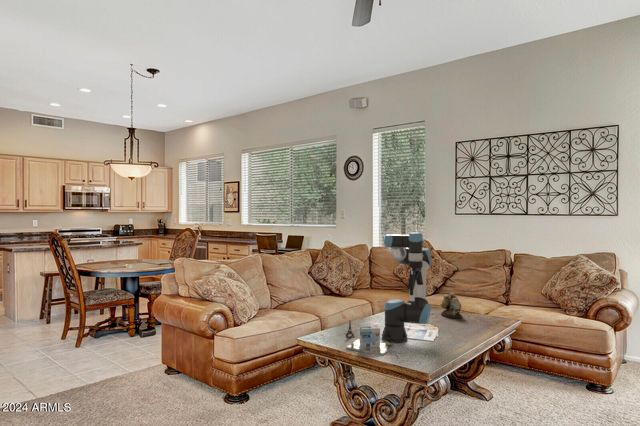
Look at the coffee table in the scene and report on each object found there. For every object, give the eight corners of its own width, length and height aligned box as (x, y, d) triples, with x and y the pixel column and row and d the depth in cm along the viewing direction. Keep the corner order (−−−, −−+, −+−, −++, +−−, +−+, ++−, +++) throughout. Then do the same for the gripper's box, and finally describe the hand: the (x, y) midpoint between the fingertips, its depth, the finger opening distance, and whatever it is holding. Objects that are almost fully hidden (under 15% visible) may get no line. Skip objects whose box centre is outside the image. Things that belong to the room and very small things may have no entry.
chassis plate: (357, 341, 258) (357, 335, 258) (393, 346, 248) (393, 341, 247) (346, 349, 244) (346, 343, 244) (383, 355, 234) (383, 349, 233)
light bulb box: (361, 348, 242) (361, 328, 242) (359, 344, 249) (359, 325, 249) (380, 347, 243) (380, 328, 243) (377, 343, 250) (377, 324, 250)
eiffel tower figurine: (365, 338, 266) (365, 316, 266) (354, 341, 259) (354, 319, 259) (347, 332, 277) (347, 312, 276) (336, 336, 270) (336, 314, 269)
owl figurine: (435, 314, 319) (435, 291, 319) (446, 312, 326) (446, 290, 326) (456, 320, 304) (456, 295, 304) (466, 317, 311) (466, 293, 311)
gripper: (415, 263, 229) (415, 303, 229) (428, 258, 250) (428, 295, 251) (401, 262, 232) (401, 302, 233) (415, 257, 254) (415, 293, 254)
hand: (415, 298), depth 242 cm, fingers open, 13 cm apart
